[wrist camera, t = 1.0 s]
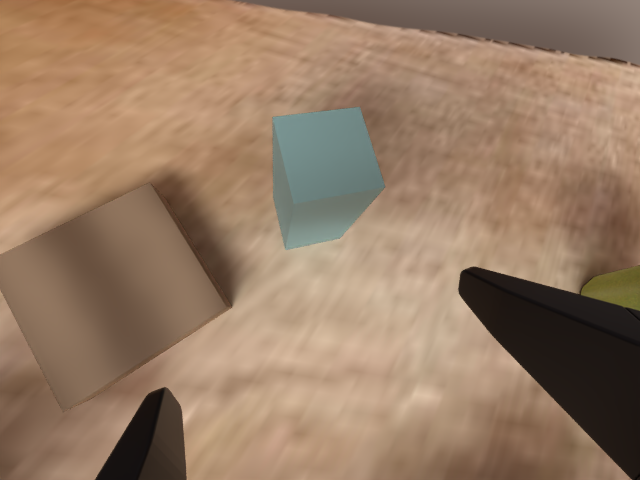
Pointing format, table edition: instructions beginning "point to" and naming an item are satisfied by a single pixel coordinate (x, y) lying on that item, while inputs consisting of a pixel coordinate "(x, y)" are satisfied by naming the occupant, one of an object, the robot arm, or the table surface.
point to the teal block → (322, 174)
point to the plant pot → (616, 287)
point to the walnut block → (108, 293)
